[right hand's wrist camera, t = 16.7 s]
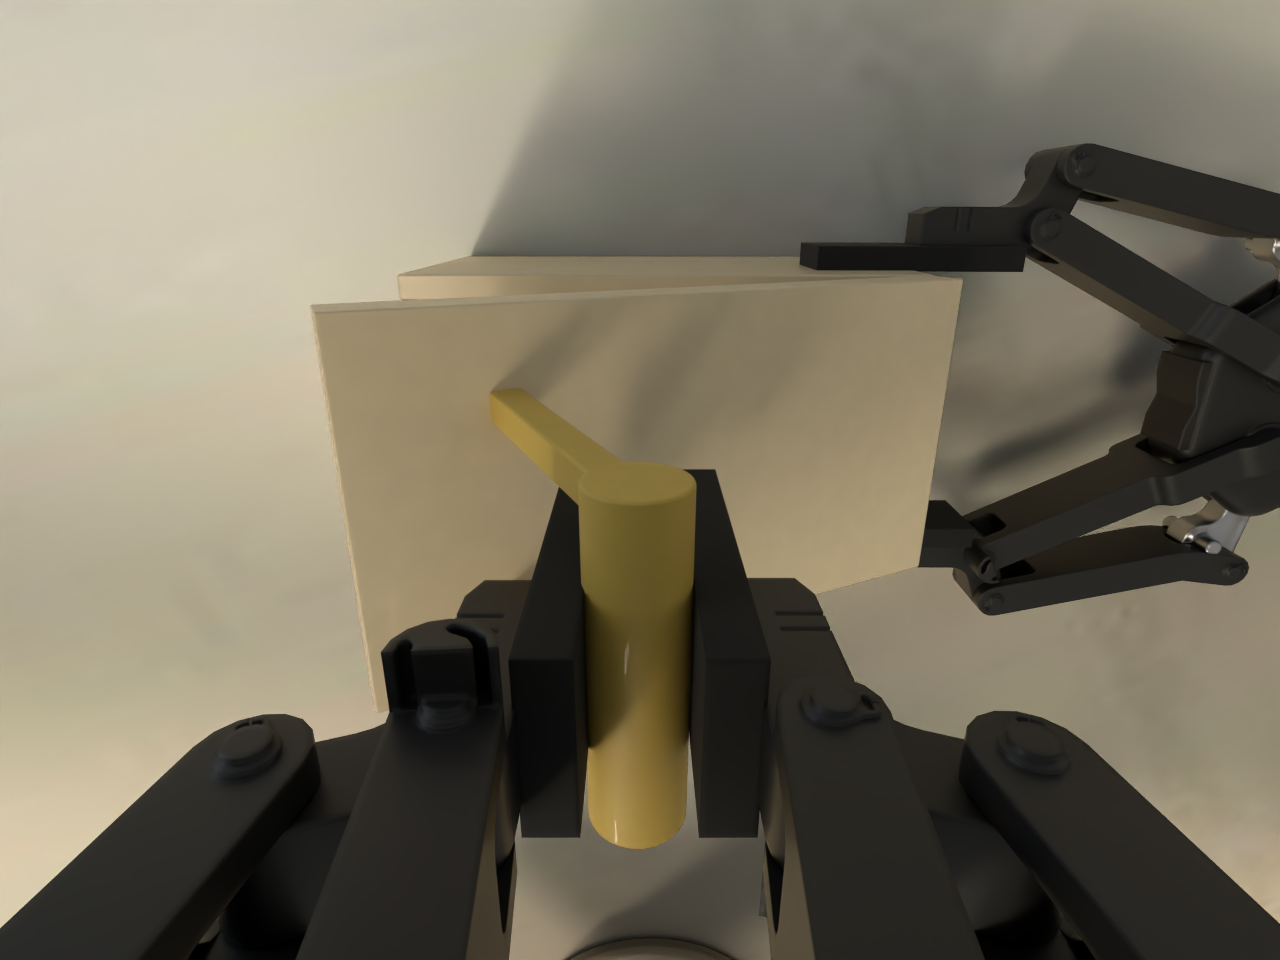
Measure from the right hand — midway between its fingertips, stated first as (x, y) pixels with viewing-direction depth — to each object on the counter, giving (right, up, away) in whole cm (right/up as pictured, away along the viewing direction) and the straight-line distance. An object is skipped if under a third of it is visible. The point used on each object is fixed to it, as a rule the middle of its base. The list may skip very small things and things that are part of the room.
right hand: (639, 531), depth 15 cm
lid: (+1, +2, +4) cm, 5 cm away
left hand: (+6, +4, +11) cm, 13 cm away
